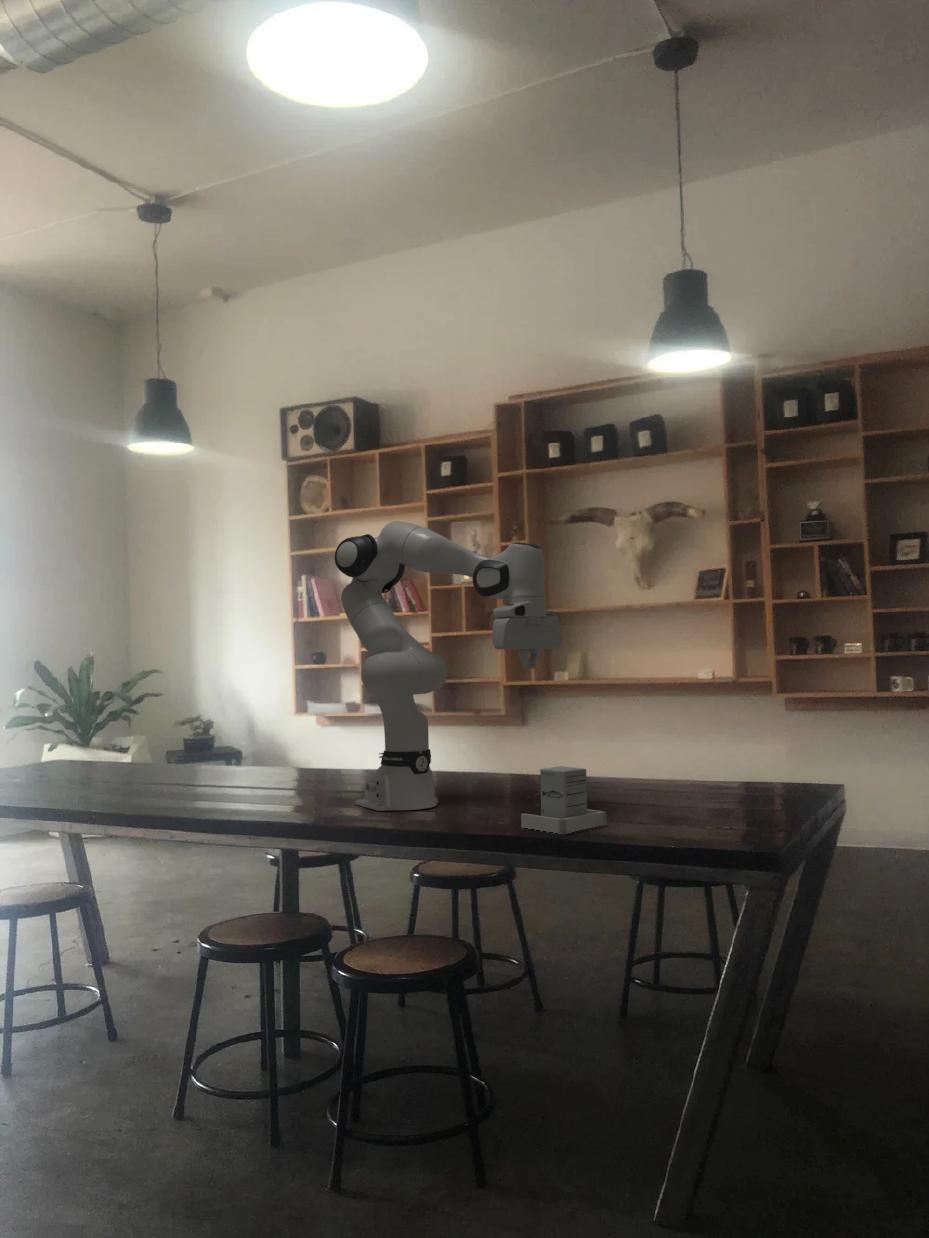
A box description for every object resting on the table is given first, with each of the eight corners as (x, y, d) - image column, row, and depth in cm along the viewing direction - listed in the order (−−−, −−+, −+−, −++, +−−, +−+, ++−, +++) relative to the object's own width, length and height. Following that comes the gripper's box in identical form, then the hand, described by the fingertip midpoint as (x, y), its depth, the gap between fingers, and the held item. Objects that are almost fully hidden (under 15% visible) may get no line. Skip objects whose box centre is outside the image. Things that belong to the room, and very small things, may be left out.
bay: (521, 828, 204) (521, 814, 204) (565, 819, 213) (564, 806, 213) (562, 834, 195) (562, 820, 195) (606, 825, 204) (606, 811, 204)
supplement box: (540, 827, 204) (538, 768, 205) (563, 822, 209) (561, 765, 210) (565, 831, 199) (563, 771, 199) (588, 826, 204) (587, 767, 204)
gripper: (547, 611, 233) (549, 667, 233) (487, 610, 220) (489, 669, 219) (566, 610, 229) (568, 667, 228) (506, 608, 215) (508, 669, 214)
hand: (529, 668), depth 223 cm, fingers closed
